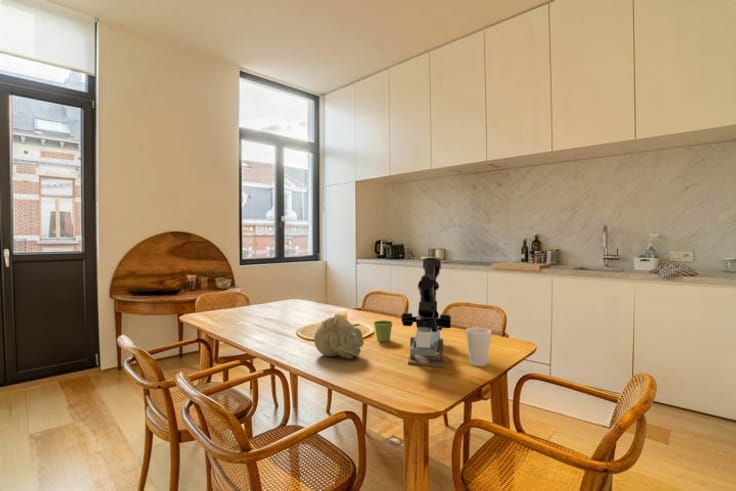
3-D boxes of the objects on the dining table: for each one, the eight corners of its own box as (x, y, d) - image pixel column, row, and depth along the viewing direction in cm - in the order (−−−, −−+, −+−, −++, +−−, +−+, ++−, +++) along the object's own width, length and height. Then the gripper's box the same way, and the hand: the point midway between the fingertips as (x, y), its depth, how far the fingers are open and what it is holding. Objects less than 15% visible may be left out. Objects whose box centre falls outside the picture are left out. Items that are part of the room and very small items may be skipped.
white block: (418, 345, 137) (417, 327, 137) (431, 346, 136) (431, 327, 136) (416, 350, 132) (416, 331, 131) (430, 351, 130) (430, 332, 130)
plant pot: (370, 342, 173) (370, 323, 173) (377, 337, 182) (377, 319, 182) (389, 344, 170) (389, 325, 169) (395, 338, 178) (395, 321, 178)
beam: (418, 346, 159) (418, 328, 158) (439, 348, 156) (439, 329, 156) (410, 371, 131) (410, 348, 131) (435, 373, 129) (435, 350, 129)
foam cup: (487, 369, 137) (487, 334, 137) (463, 364, 142) (463, 331, 142) (493, 361, 145) (493, 329, 145) (470, 357, 150) (470, 326, 150)
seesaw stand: (410, 357, 151) (410, 334, 151) (445, 360, 148) (445, 336, 147) (407, 364, 143) (407, 340, 143) (444, 367, 140) (444, 342, 140)
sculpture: (313, 368, 142) (361, 350, 140) (302, 320, 151) (346, 302, 149) (330, 371, 158) (372, 355, 156) (318, 327, 167) (359, 311, 165)
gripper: (401, 292, 144) (397, 327, 133) (450, 293, 139) (450, 330, 129) (404, 308, 152) (400, 342, 141) (451, 310, 147) (450, 345, 137)
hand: (424, 340), depth 137 cm, fingers closed, pressing on white block
